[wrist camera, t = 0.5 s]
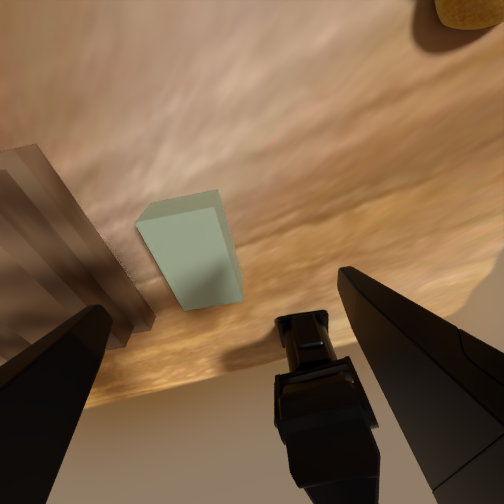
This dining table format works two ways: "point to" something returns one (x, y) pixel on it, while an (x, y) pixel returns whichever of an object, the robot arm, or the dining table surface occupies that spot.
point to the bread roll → (470, 13)
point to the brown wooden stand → (54, 260)
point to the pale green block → (194, 249)
